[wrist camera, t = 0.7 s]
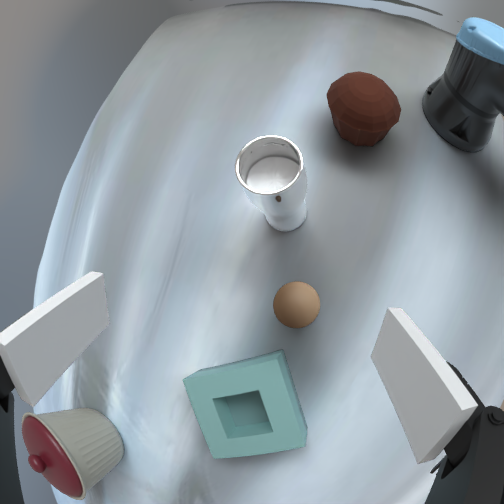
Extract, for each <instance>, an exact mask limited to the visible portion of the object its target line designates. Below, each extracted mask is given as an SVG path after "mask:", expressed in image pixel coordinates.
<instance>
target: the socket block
mask: <svg viewBox="0 0 504 504" xmlns="http://www.w3.org/2000/svg"><path fill="white" fill-rule="evenodd" d="M183 382H184V385H185V388H186V391H187V394H188V396H189V399H190V402H191V405H192V407H193V410H194V413H195V415H196V418H197V420H198V423H199V425H200V428H201V430H202V433H203V435H204V437H205V440H206V442H207V445H208V447H209V449H210V451H211V454H212V456H213V458H214V459H217V458H232V457H243V456H252V455H260V454H267V453H274V452H280V451H285V450H291V449H296V448H300V447H305V445H306V436H307V424H306V421H305V418H304V415H303V411H302V408H301V405H300V402H299V399H298V396H297V392H296V389H295V386H294V383H293V380H292V376H291V373H290V370H289V367H288V364H287V361H286V357H285V354H284V351H283V350H280V351H276V352H272V353H269V354H265V355H261V356H258V357H254V358H250V359H246V360H242V361H238V362H233V363H229V364H225V365H220V366H215V367H211V368H206V369H201V370H199V371H197V372H195V373H194V374H192V375H190V376H188V377H186V378H185V379H183Z"/></svg>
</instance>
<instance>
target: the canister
mask: <svg viewBox="0 0 504 504" xmlns="http://www.w3.org/2000/svg"><path fill="white" fill-rule="evenodd" d="M22 434H23V439H24V442H25V445H26V447H27V450H28V452H29V454H30V456H29V458H28V461H29V464H30V466H31V467H32V469H33V470H35V471H36V472H38V473H42V474H43V475H44V477H45V478H46V479H47V480H48V481H49V482H50V483H51V484H52V485H53V486H54V487H55V488H56V489H58V490H59V491H60V492H62V493H64V494H66V495H67V496H69V497H71V498H73V499H76V500H82V499H84V498H85V496H86V492H87V491H88V490H89V489H91V488H92V487H93V486H94V485H95V484H97V483H98V482H99V481H100V480H101V479H102V478H104V477H105V476H106V475H107V474H108V473H109V472H110V471H111V470H112V469H113V468H114V467H115V466H116V465H117V464H118V463H119V462H120V461H121V459H122V457H123V454H124V447H123V443H122V439H121V436H120V435H119V432H118V431H117V429H116V428H115V426H114V425H113V424H112V423H111V421H110V420H109V419H108V418H106V417H105V415H103V414H102V413H100V412H98V411H96V410H94V409H89V408H78V409H71V410H64V411H58V412H51V413H43V414H37V415H36V414H34V413H30V412H27V413H25V414H24V415H23V418H22Z"/></svg>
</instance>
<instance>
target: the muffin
mask: <svg viewBox="0 0 504 504" xmlns="http://www.w3.org/2000/svg"><path fill="white" fill-rule="evenodd" d="M327 99H328V104H329V108H330V110H331V114H332V118H333V123H334V126H335V127H336V128H337V130H338V131H339V134H340V136H341V138H343V139H345V140H347V141H349V142H351V143H352V144H354V145H355V146H364V145H365V146H373V145H374V144H376V143H377V142H378V141H380V140H382V139H383V138H384V137H385V136H386V134H387V133H388V131H389V130H390V128H391V127H392V126H394V125H395V124H396V123H397V122H398V121H399V117H400V112H401V108H400V105H399V102H398V99H397V96H396V95H395V94H394V92H393V91H392V90H391V89H390V88H389V86H388V85H387V84H386V83H385V82H384V81H383V80H381V79H380V78H378V77H376V76H374V75H372V74H369V73H364V72H353V73H347V74H345V75H344V76H342V77H341V78H339V79H338V80H336V81H335V82H333V83H332V84H331V86H330V88H329V90H328V92H327Z"/></svg>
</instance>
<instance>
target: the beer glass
mask: <svg viewBox="0 0 504 504" xmlns="http://www.w3.org/2000/svg"><path fill="white" fill-rule="evenodd" d="M235 173H236V176H237V179H238V181H239V182H240V184H241V187H242V189H243V191H244V193H245V194H246V196H247V198H248V199H249V200H250V202H251V203H252V204H253V205H254V206H255V207H256V208H257V209H258V210H259V211H261V212H262V213H264V214H265V216H266V219H267V221H268V223H269V224H270V225H271V226H272V227H273V228H275V229H277V230H279V231H292V230H294V229H296V228H298V227H299V226H300V225H301V224H302V223H303V222H304V220H305V218H306V215H307V207H306V204H305V201H304V200H305V197H306V193H307V174H306V169H305V165H304V162H303V157H302V154H301V152H300V150H299V148H298V147H297V146H296V145H295V144H294V143H293V142H292V141H290V140H289V139H287V138H284V137H281V136H275V135H268V136H262V137H259V138H256V139H254V140H252V141H251V142H249V143H248V144H246V145H245V146H244V147H243V148H242V150H241V151H240V153H239V154H238V156H237V159H236V163H235Z"/></svg>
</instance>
